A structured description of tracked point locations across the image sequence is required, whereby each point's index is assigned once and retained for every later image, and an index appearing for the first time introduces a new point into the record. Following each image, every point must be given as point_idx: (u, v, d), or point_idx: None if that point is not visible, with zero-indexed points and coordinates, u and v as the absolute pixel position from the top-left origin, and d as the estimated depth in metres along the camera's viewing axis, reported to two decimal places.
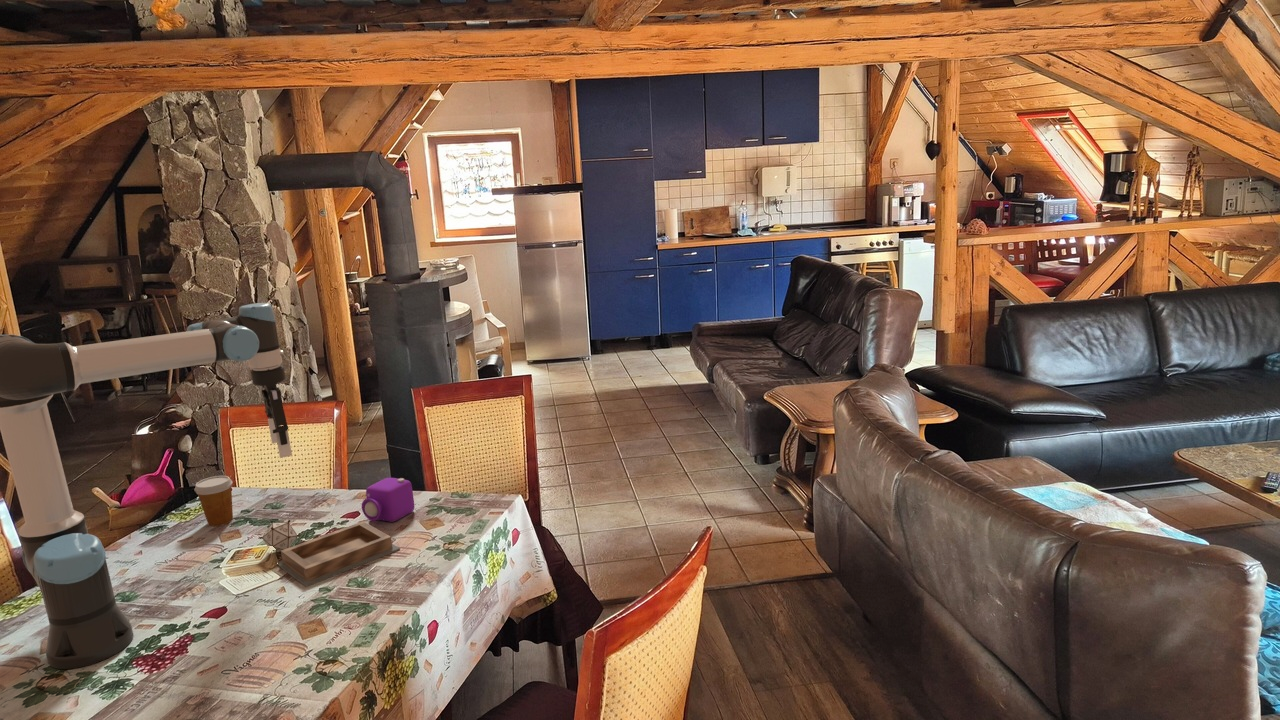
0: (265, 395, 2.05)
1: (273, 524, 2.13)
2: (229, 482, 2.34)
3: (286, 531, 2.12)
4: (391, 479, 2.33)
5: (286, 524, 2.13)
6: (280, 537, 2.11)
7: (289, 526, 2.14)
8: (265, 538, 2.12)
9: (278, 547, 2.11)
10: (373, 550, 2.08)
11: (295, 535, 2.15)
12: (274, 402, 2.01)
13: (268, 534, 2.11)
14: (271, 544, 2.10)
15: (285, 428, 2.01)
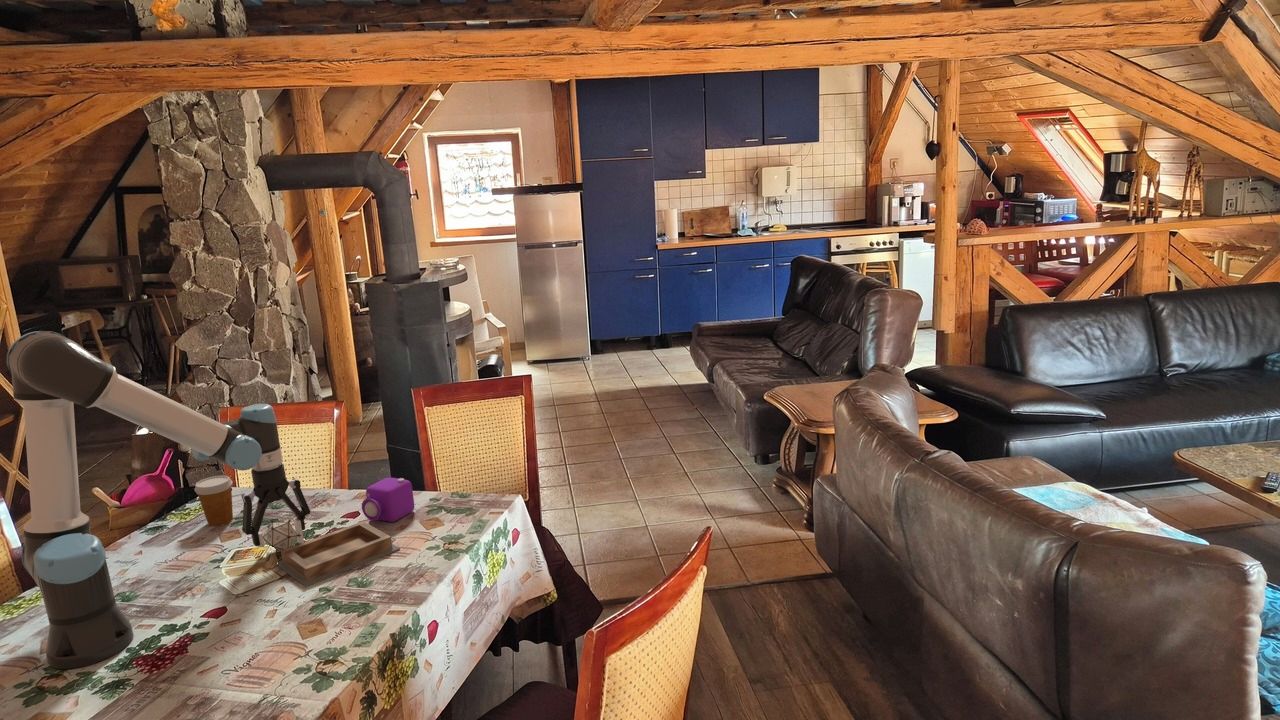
0: None
1: (273, 524, 2.14)
2: (229, 482, 2.34)
3: (286, 530, 2.12)
4: (391, 479, 2.33)
5: (286, 524, 2.13)
6: (280, 537, 2.11)
7: (289, 526, 2.14)
8: (265, 538, 2.12)
9: (278, 547, 2.11)
10: (373, 550, 2.08)
11: (295, 535, 2.15)
12: (244, 505, 2.07)
13: (268, 534, 2.11)
14: (271, 544, 2.10)
15: (245, 532, 2.07)
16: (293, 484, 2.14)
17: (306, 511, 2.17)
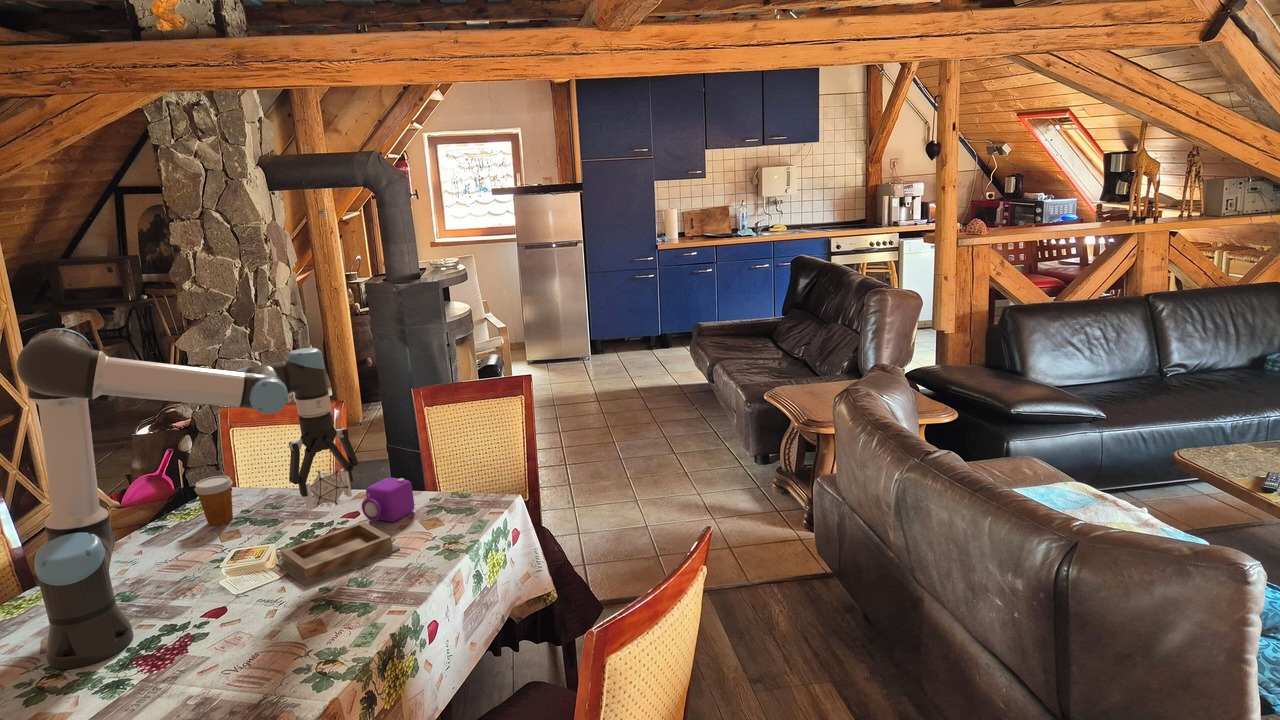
0: None
1: (320, 474, 2.05)
2: (229, 482, 2.34)
3: (334, 481, 2.04)
4: (391, 479, 2.33)
5: (334, 474, 2.05)
6: (328, 487, 2.02)
7: (337, 477, 2.05)
8: (312, 488, 2.03)
9: (326, 498, 2.03)
10: (373, 550, 2.08)
11: (343, 486, 2.06)
12: (292, 453, 1.99)
13: (316, 484, 2.03)
14: (319, 494, 2.02)
15: (292, 482, 1.98)
16: (341, 433, 2.05)
17: (354, 462, 2.08)
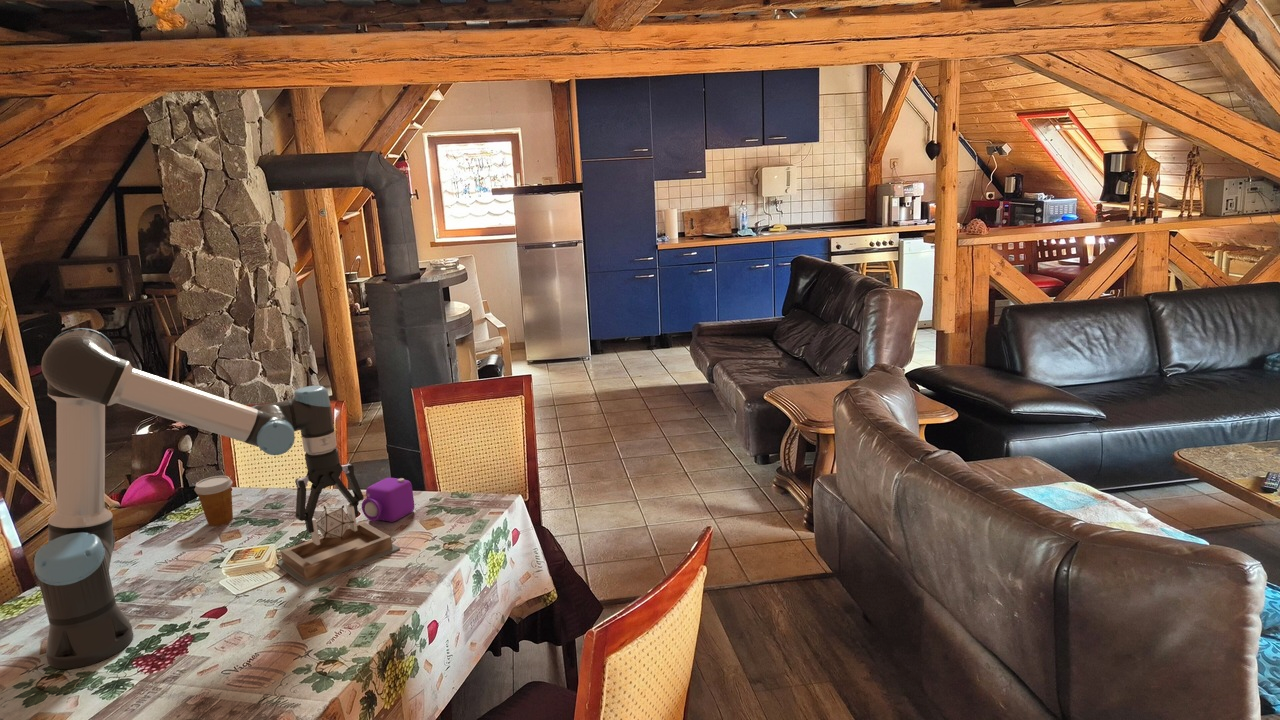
0: None
1: (326, 510, 2.07)
2: (229, 482, 2.34)
3: (340, 517, 2.06)
4: (391, 479, 2.33)
5: (340, 510, 2.07)
6: (334, 523, 2.04)
7: (343, 512, 2.07)
8: (319, 524, 2.05)
9: (332, 533, 2.05)
10: (373, 550, 2.08)
11: (349, 521, 2.08)
12: (298, 490, 2.01)
13: (322, 520, 2.05)
14: (325, 530, 2.04)
15: (299, 518, 2.01)
16: (346, 469, 2.08)
17: (359, 497, 2.10)
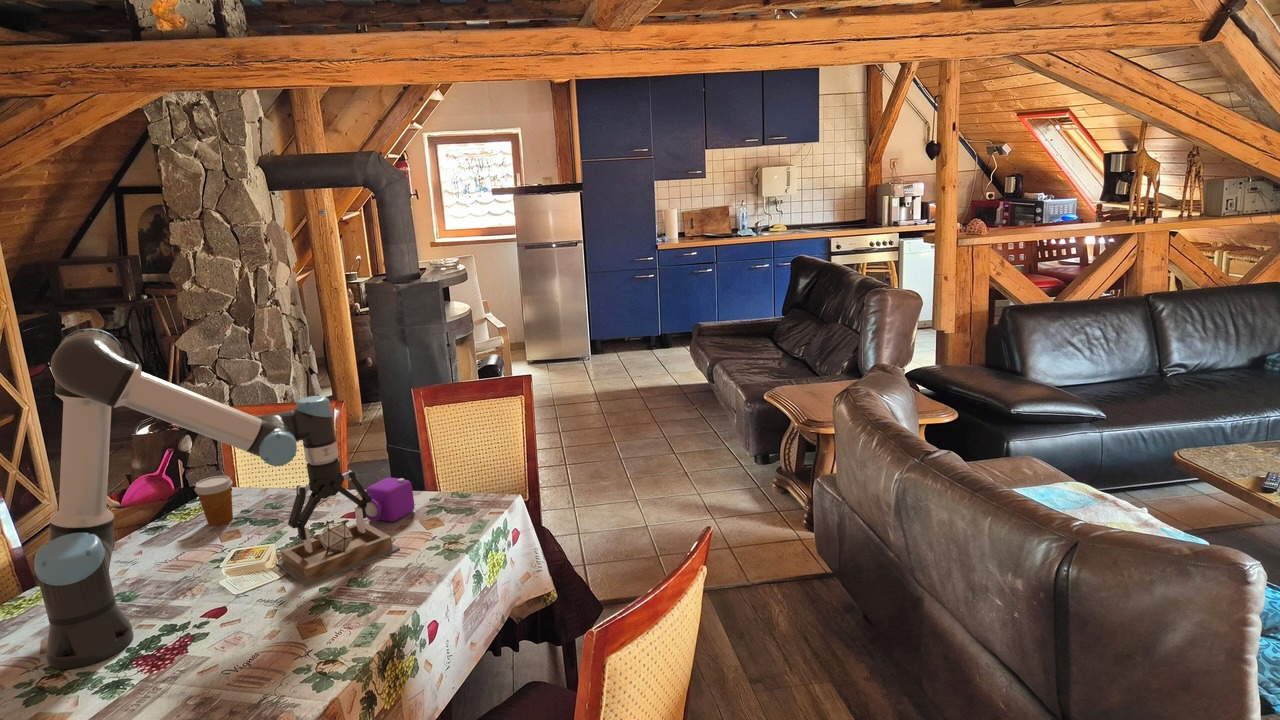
0: None
1: (329, 525, 2.08)
2: (229, 482, 2.34)
3: (342, 532, 2.07)
4: (391, 479, 2.33)
5: (342, 525, 2.08)
6: (337, 538, 2.06)
7: (345, 527, 2.08)
8: (321, 539, 2.06)
9: (334, 548, 2.06)
10: (373, 550, 2.08)
11: (351, 536, 2.09)
12: (297, 497, 2.01)
13: (324, 535, 2.06)
14: (327, 545, 2.05)
15: (291, 526, 2.00)
16: (348, 476, 2.08)
17: (367, 499, 2.12)
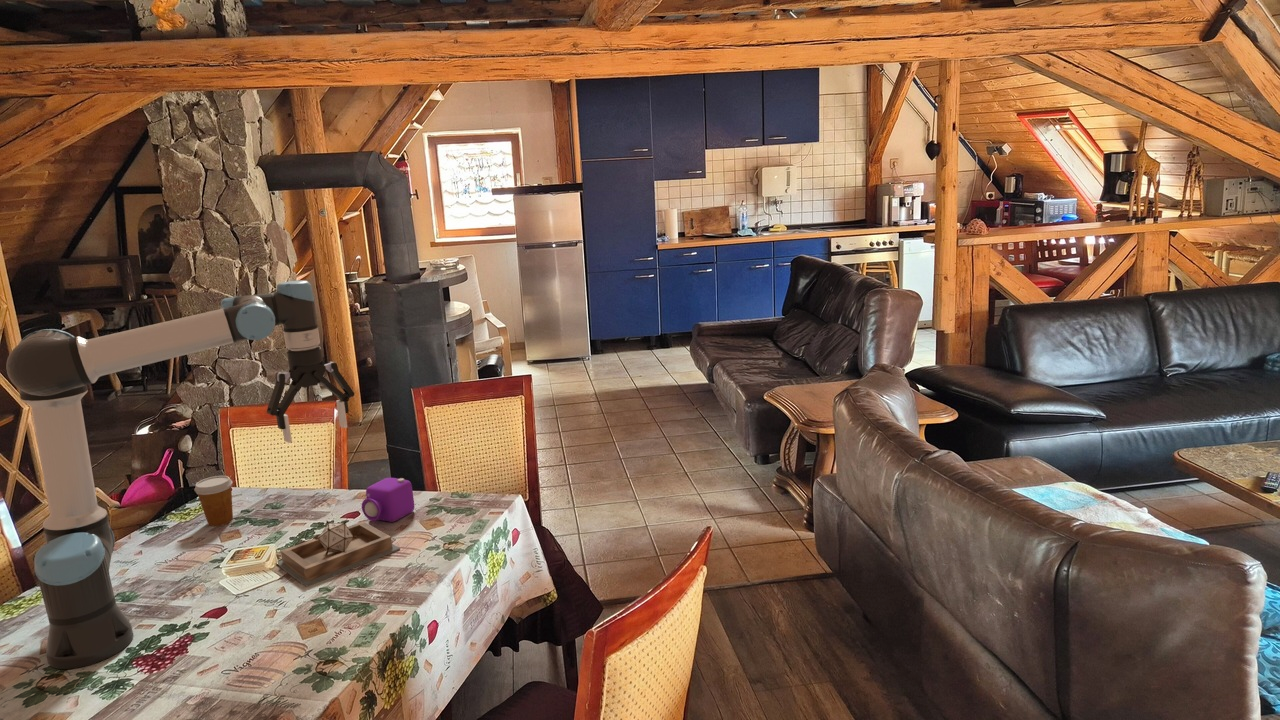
0: None
1: (329, 525, 2.08)
2: (229, 482, 2.34)
3: (342, 532, 2.07)
4: (391, 479, 2.33)
5: (342, 525, 2.08)
6: (337, 538, 2.06)
7: (345, 527, 2.08)
8: (321, 539, 2.06)
9: (334, 548, 2.06)
10: (373, 550, 2.08)
11: (351, 536, 2.09)
12: (276, 384, 1.94)
13: (324, 535, 2.06)
14: (327, 545, 2.05)
15: (270, 413, 1.93)
16: (330, 367, 2.02)
17: (350, 393, 2.05)
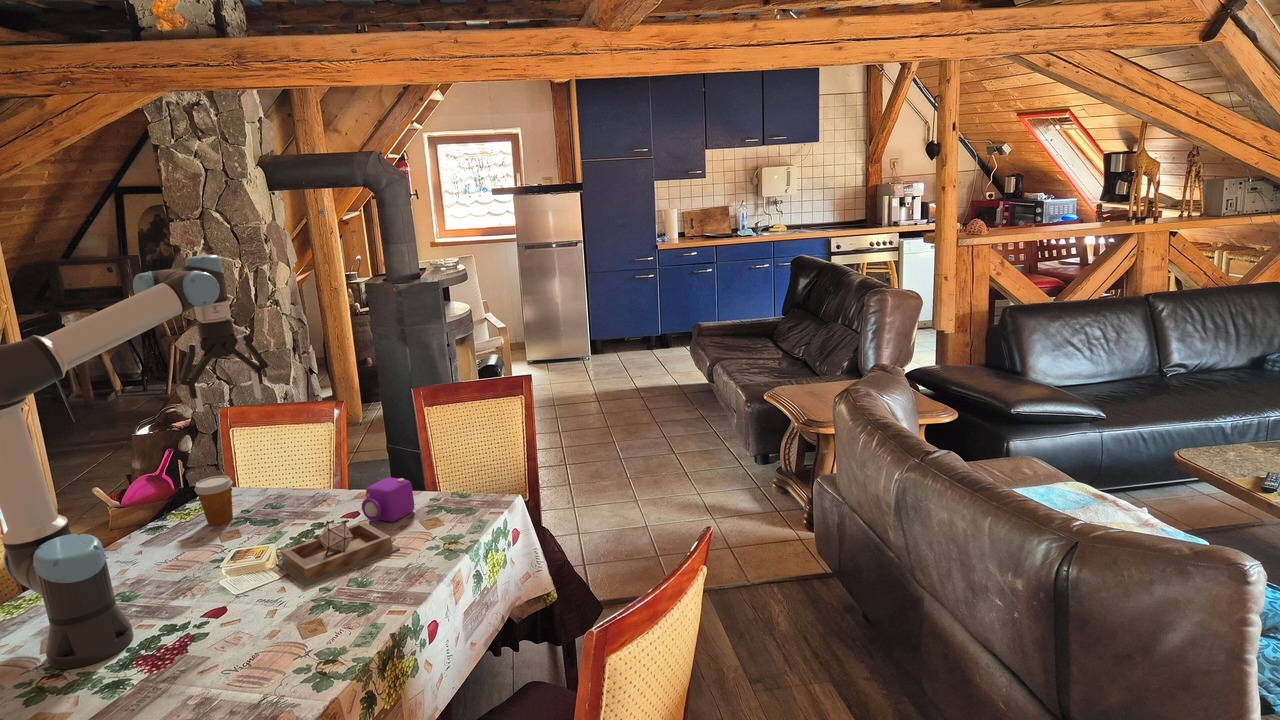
0: None
1: (329, 525, 2.08)
2: (229, 482, 2.34)
3: (342, 532, 2.07)
4: (391, 479, 2.33)
5: (342, 525, 2.08)
6: (337, 538, 2.06)
7: (345, 527, 2.08)
8: (321, 539, 2.06)
9: (334, 548, 2.06)
10: (373, 550, 2.08)
11: (351, 536, 2.09)
12: (187, 355, 2.01)
13: (324, 535, 2.06)
14: (327, 545, 2.05)
15: (180, 383, 2.00)
16: (242, 339, 2.08)
17: (263, 365, 2.12)
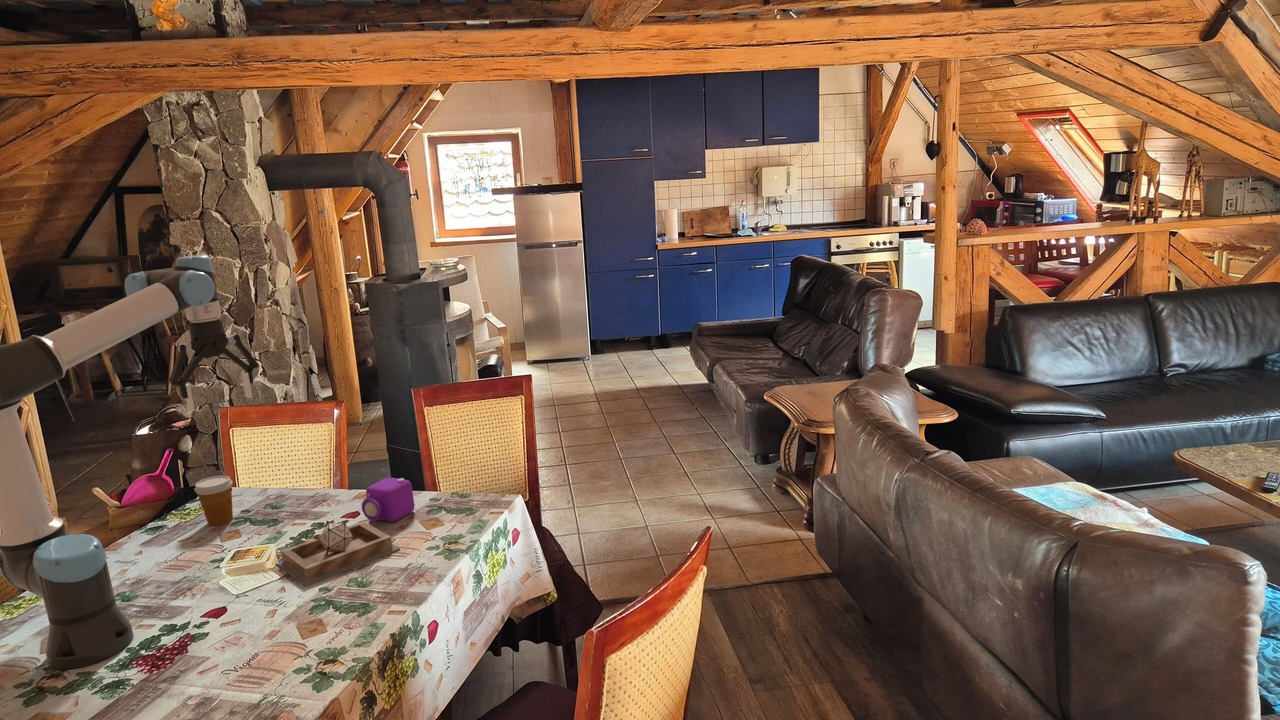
0: None
1: (329, 525, 2.08)
2: (229, 482, 2.34)
3: (342, 532, 2.07)
4: (391, 479, 2.33)
5: (342, 525, 2.08)
6: (337, 538, 2.06)
7: (345, 527, 2.08)
8: (321, 539, 2.06)
9: (334, 548, 2.06)
10: (373, 550, 2.08)
11: (351, 536, 2.09)
12: (178, 355, 2.02)
13: (324, 535, 2.06)
14: (327, 545, 2.05)
15: (171, 382, 2.01)
16: (233, 339, 2.09)
17: (254, 364, 2.13)
